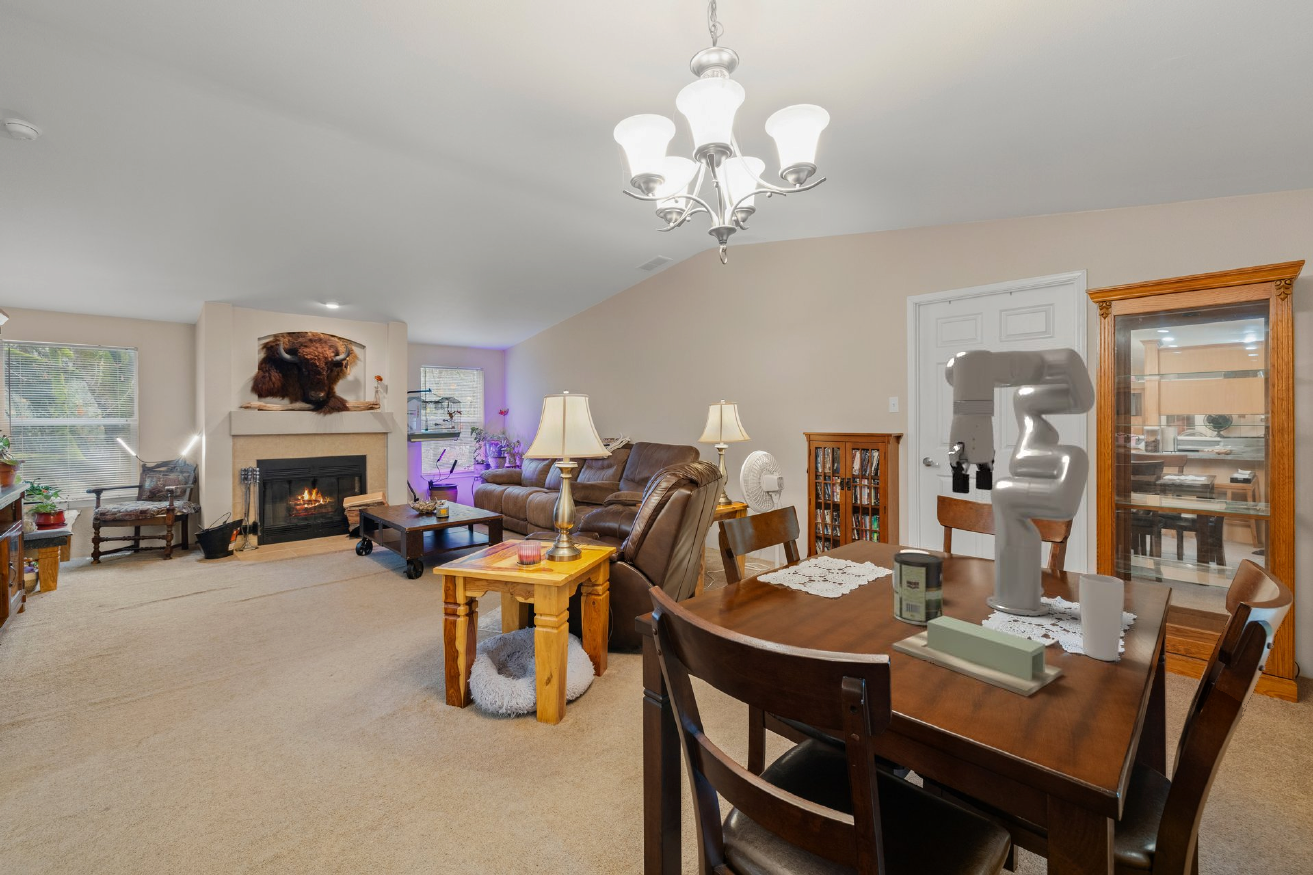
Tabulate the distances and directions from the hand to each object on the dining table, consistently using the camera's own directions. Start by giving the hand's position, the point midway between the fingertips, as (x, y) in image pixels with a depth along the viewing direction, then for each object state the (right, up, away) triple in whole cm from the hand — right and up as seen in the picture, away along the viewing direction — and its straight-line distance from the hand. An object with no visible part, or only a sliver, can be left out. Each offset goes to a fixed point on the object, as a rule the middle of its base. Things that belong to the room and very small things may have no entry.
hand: (972, 491), depth 119 cm
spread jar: (-1, -30, +24) cm, 38 cm away
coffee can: (-7, -30, +11) cm, 33 cm away
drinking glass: (+18, -31, -11) cm, 37 cm away
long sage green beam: (-6, -30, -14) cm, 34 cm away
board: (-7, -31, -13) cm, 34 cm away
